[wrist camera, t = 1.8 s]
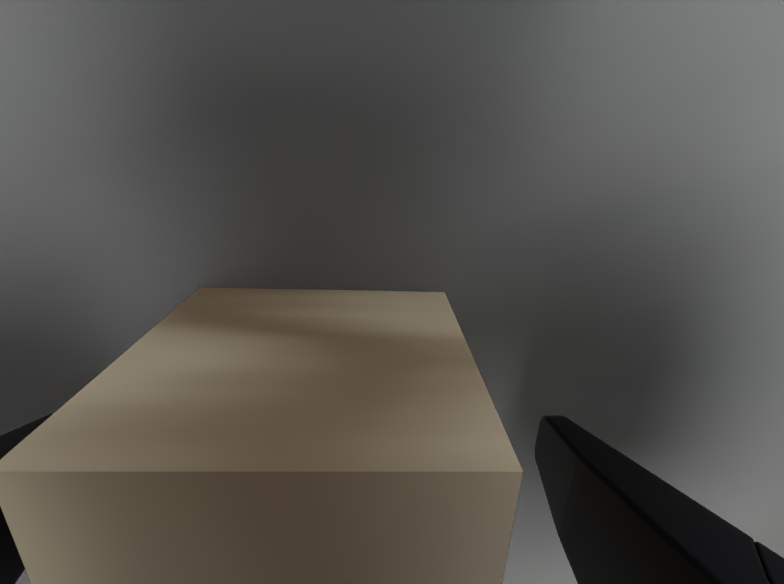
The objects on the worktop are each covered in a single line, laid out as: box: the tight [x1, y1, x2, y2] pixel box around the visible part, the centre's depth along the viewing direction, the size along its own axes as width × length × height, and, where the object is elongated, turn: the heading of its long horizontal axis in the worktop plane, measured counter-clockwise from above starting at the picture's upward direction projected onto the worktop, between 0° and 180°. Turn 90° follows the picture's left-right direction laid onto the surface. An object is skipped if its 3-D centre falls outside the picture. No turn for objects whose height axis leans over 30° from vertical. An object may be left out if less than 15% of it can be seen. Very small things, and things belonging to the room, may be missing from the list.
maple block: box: [0, 287, 523, 584], centre depth 7 cm, size 5×5×5 cm
